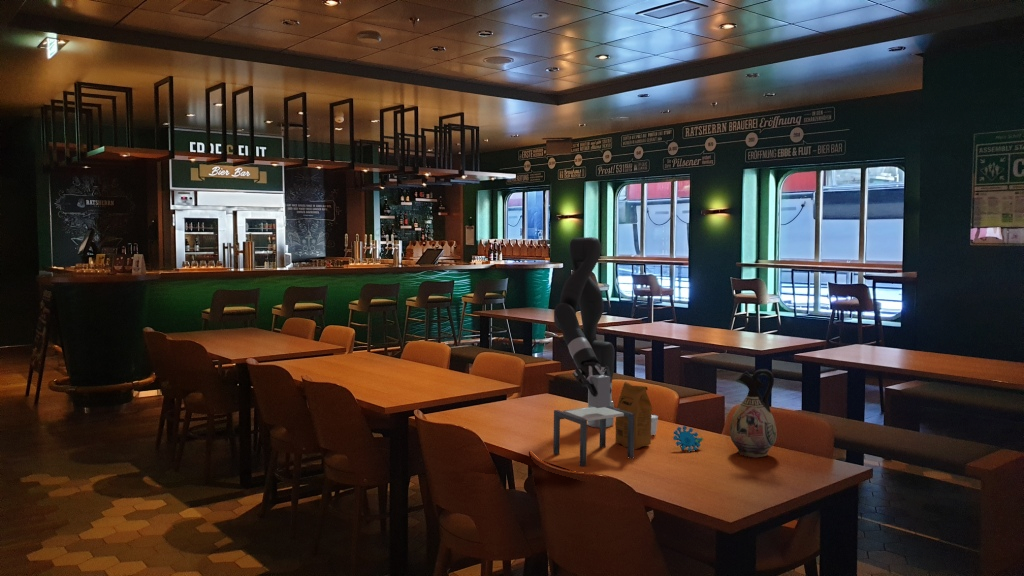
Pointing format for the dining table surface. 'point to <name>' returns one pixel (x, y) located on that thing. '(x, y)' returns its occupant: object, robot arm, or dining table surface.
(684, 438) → the blue knobbed toy
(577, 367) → the robot arm
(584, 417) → the trapdoor
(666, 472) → the dining table surface
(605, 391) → the grey rectangular block
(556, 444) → the frame
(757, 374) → the ceramic jug
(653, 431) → the shot glass
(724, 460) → the dining table surface
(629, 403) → the coffee package
